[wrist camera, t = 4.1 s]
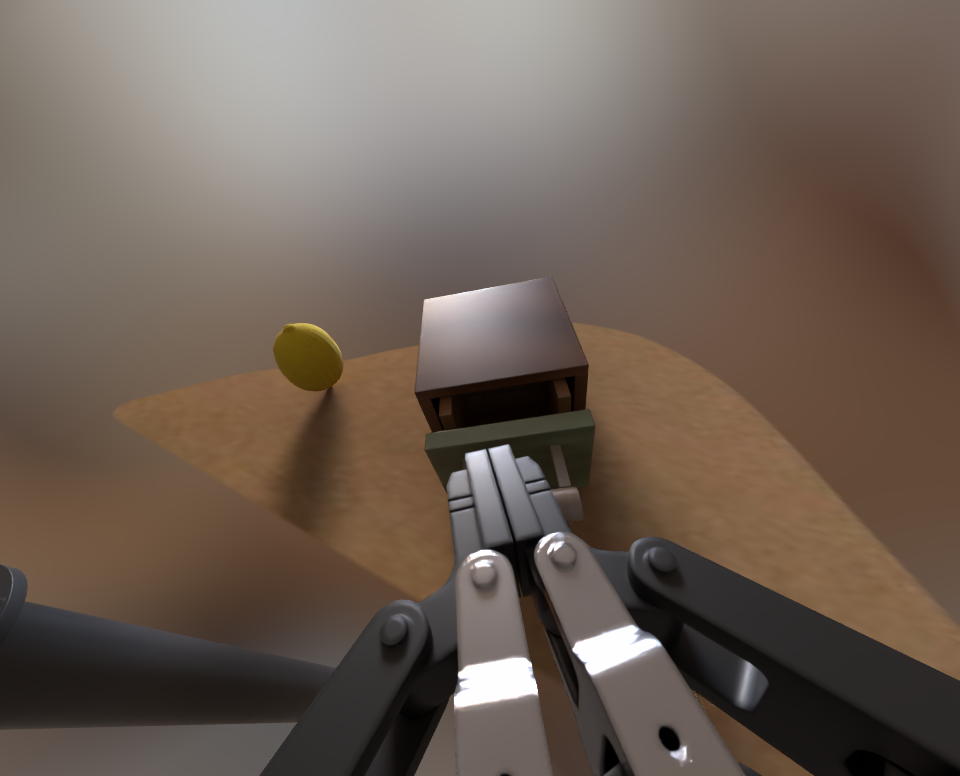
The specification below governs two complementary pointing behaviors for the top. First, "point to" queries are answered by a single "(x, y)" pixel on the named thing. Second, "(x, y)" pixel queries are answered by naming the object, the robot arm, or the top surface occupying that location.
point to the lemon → (308, 357)
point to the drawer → (519, 435)
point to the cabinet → (497, 344)
